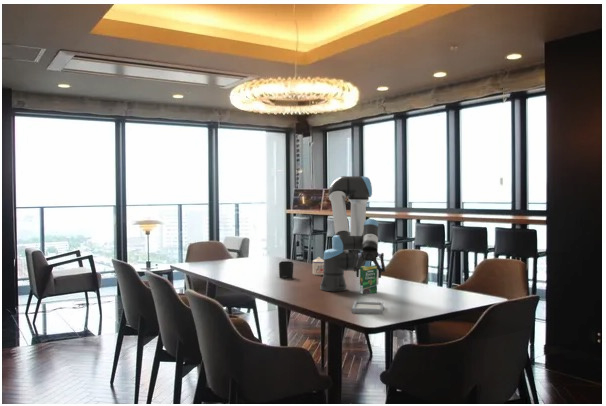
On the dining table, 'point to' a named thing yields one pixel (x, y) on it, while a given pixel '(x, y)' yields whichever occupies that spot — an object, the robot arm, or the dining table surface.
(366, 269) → the coffee box
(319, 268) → the teacup with lid
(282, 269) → the pen holder
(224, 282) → the dining table surface
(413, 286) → the dining table surface
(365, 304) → the dock plate
